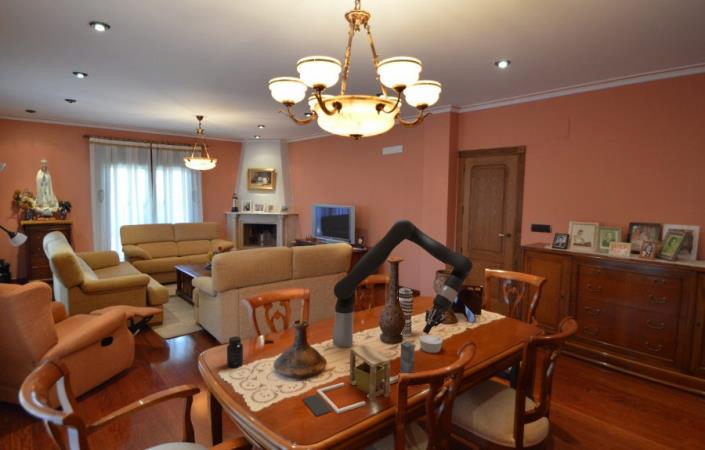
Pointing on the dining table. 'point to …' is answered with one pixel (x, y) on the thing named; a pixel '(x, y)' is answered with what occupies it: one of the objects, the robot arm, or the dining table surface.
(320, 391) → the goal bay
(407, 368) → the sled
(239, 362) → the supplement bottle
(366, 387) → the flower pot
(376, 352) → the oak bridge
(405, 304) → the striped vase
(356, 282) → the robot arm
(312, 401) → the mat
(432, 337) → the ramekin
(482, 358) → the dining table surface
